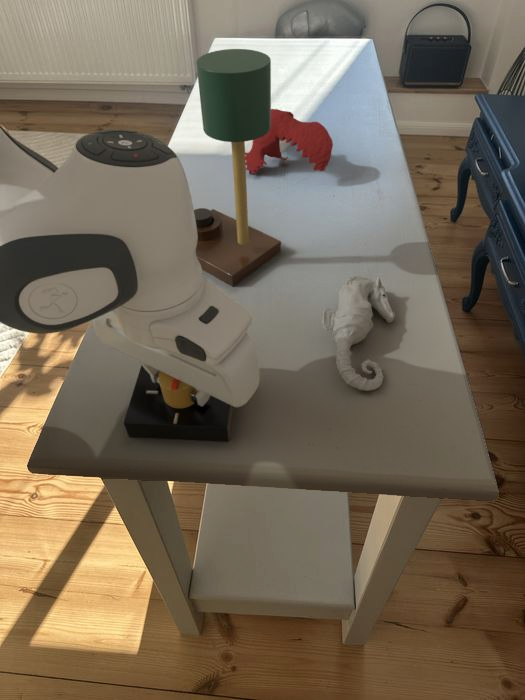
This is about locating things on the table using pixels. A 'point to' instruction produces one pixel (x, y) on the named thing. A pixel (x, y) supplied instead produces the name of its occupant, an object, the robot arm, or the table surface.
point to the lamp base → (232, 249)
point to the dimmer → (174, 416)
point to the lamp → (236, 110)
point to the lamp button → (203, 217)
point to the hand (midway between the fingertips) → (181, 390)
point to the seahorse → (357, 326)
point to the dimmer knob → (175, 391)
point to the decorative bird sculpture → (305, 134)
